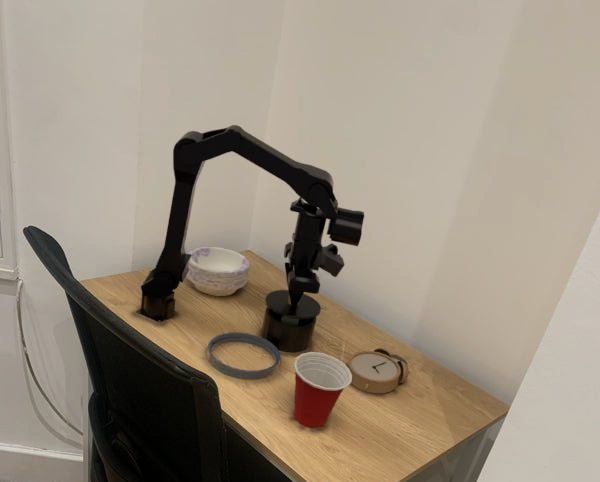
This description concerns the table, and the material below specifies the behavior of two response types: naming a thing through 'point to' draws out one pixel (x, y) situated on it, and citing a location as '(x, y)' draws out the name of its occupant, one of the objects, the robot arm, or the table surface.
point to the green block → (289, 321)
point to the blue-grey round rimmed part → (245, 339)
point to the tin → (287, 332)
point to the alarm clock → (377, 370)
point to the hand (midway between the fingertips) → (293, 302)
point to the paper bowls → (217, 270)
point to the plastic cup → (318, 387)
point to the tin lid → (282, 306)
